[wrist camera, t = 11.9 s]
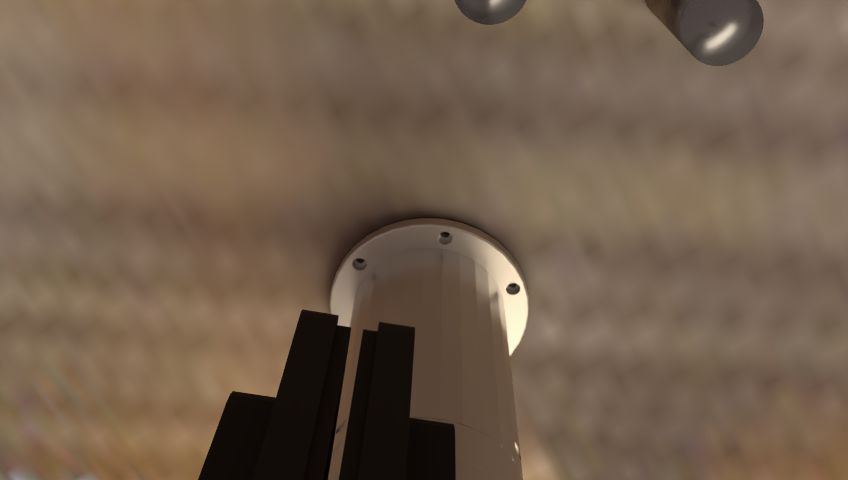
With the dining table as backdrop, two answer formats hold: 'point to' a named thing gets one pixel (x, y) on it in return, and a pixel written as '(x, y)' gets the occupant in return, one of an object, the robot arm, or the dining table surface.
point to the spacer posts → (670, 23)
